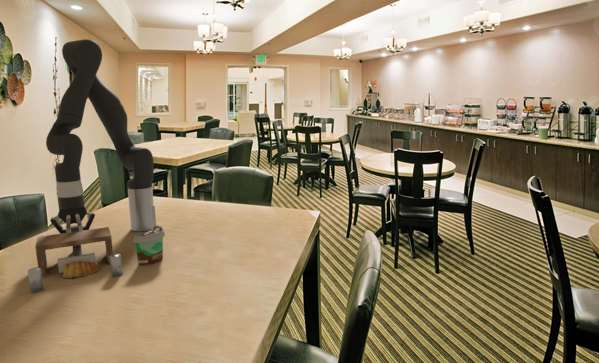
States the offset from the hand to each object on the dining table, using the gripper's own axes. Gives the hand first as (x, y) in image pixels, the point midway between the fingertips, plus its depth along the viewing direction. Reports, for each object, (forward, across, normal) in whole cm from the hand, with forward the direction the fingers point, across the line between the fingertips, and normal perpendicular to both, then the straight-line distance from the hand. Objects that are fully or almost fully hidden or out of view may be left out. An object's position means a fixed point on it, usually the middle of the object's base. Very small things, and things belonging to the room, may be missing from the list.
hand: (76, 243), depth 135 cm
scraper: (+3, 0, +7) cm, 7 cm away
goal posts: (+3, 0, +26) cm, 26 cm away
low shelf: (+3, 0, +11) cm, 12 cm away
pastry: (+4, 0, +19) cm, 19 cm away
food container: (+4, -22, +20) cm, 30 cm away
